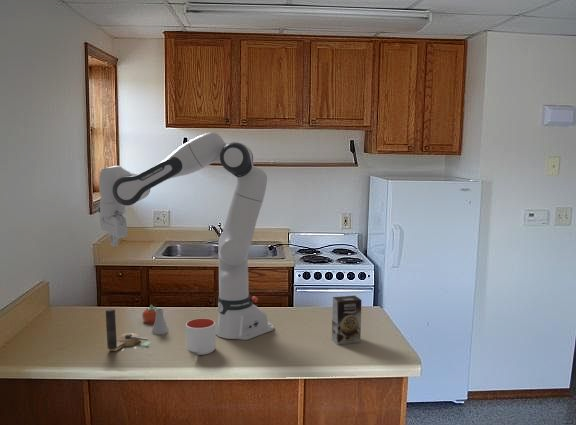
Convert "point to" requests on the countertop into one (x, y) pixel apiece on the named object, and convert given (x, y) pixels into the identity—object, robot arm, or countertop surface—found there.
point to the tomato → (149, 314)
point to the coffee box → (346, 320)
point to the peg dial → (122, 339)
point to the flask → (159, 323)
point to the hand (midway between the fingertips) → (114, 246)
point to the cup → (200, 336)
